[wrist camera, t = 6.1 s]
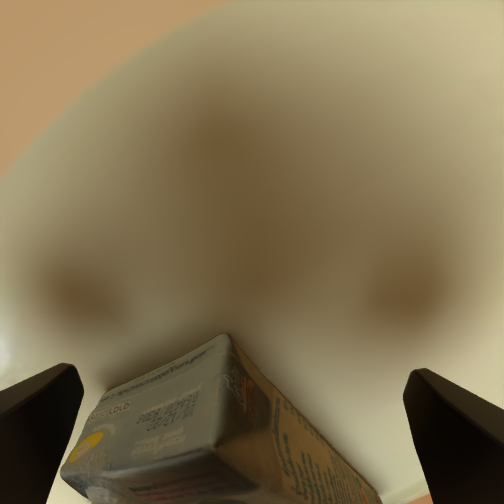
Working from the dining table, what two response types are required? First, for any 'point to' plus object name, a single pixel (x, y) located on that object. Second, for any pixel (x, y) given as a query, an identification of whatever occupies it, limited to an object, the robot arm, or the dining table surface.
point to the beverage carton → (206, 440)
